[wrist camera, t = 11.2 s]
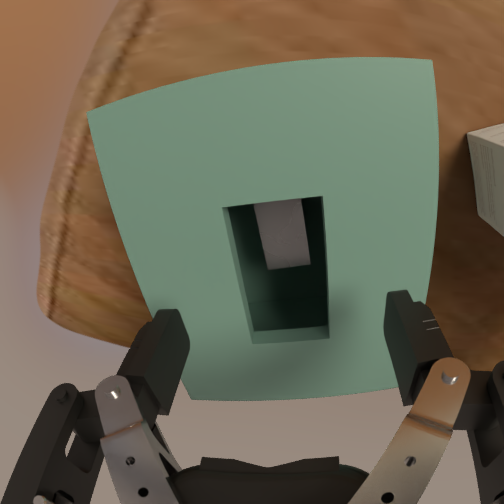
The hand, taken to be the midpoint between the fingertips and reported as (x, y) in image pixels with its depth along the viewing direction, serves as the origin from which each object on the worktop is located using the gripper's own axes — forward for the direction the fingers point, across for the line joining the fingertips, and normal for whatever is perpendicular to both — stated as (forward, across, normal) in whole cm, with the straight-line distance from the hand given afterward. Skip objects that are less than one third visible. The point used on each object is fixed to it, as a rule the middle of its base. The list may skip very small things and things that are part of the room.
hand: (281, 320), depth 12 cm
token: (+12, 0, -1) cm, 12 cm away
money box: (+13, 0, 0) cm, 13 cm away
